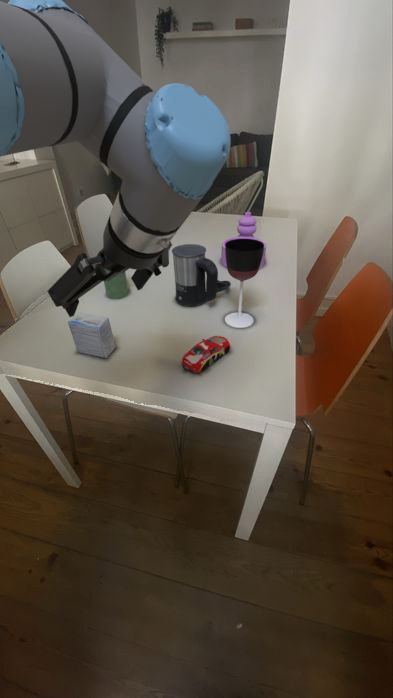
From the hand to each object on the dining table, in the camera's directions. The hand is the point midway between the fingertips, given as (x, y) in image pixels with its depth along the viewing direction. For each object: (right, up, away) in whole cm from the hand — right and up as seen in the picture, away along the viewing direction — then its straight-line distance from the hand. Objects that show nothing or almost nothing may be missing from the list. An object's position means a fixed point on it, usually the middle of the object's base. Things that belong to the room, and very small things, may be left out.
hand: (104, 295), depth 57 cm
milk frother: (+19, +6, +38) cm, 43 cm away
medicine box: (-7, -10, +18) cm, 22 cm away
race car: (+19, -12, +15) cm, 27 cm away
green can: (-7, +7, +40) cm, 41 cm away
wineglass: (+28, -2, +27) cm, 39 cm away
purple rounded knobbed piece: (+34, +25, +61) cm, 74 cm away
